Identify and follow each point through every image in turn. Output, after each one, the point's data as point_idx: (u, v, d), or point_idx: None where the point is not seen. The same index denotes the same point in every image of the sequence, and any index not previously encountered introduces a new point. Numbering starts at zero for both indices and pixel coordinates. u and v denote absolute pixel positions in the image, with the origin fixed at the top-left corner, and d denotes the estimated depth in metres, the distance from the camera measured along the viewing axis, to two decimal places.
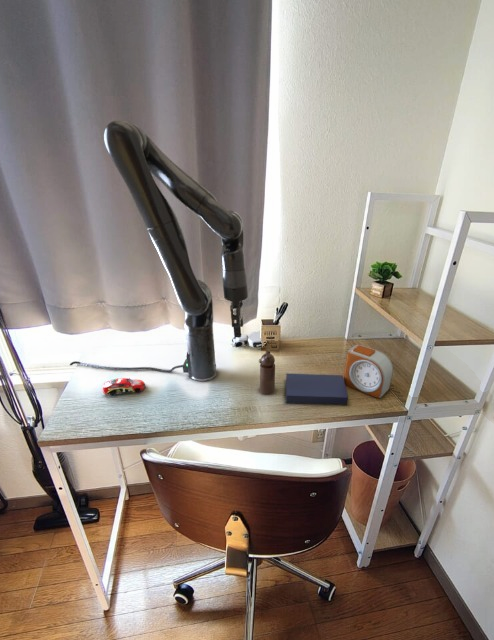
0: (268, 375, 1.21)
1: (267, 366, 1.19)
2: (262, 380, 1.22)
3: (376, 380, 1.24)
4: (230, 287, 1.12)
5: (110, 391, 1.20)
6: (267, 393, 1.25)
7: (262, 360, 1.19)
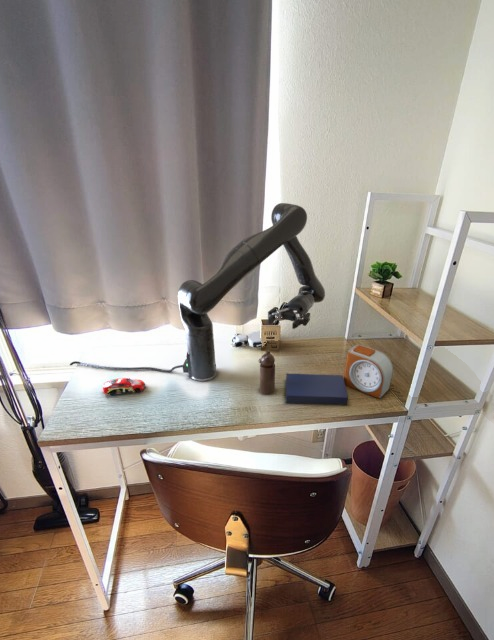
0: (268, 375, 1.21)
1: (267, 366, 1.19)
2: (262, 380, 1.22)
3: (376, 380, 1.24)
4: (307, 306, 1.35)
5: (110, 391, 1.20)
6: (267, 393, 1.25)
7: (262, 360, 1.19)
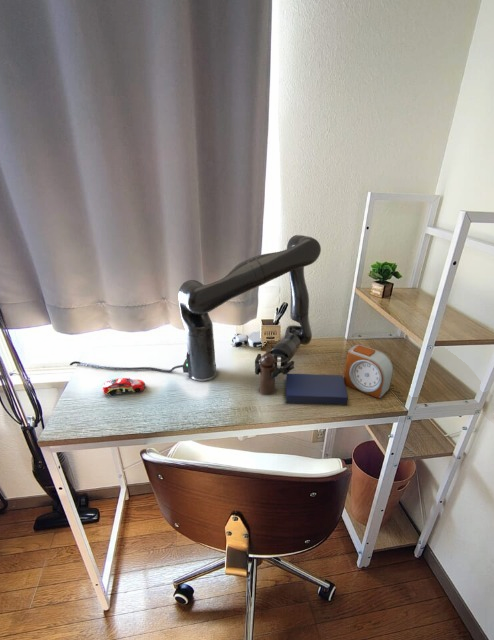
0: (268, 375, 1.21)
1: (267, 366, 1.19)
2: (262, 380, 1.22)
3: (376, 380, 1.24)
4: (292, 351, 1.32)
5: (110, 391, 1.20)
6: (267, 393, 1.25)
7: (262, 360, 1.19)
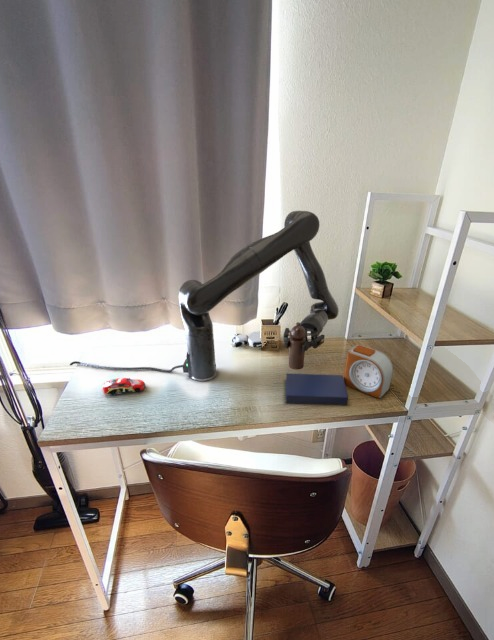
0: (299, 349, 1.15)
1: (298, 339, 1.14)
2: (292, 354, 1.17)
3: (376, 380, 1.24)
4: (321, 326, 1.26)
5: (110, 391, 1.20)
6: (296, 368, 1.19)
7: (293, 332, 1.13)
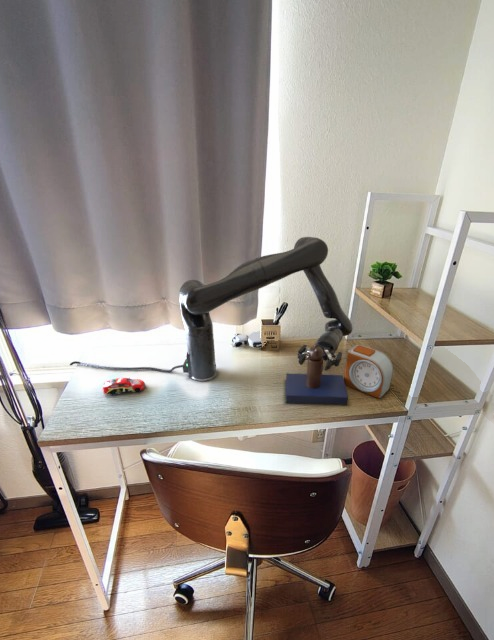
0: (317, 369, 1.19)
1: (316, 359, 1.18)
2: (310, 374, 1.21)
3: (376, 380, 1.24)
4: (337, 344, 1.30)
5: (110, 391, 1.20)
6: (314, 387, 1.23)
7: (311, 353, 1.17)
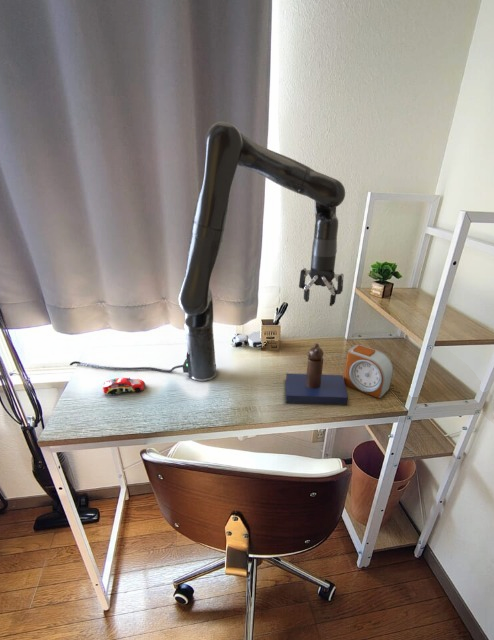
0: (317, 369, 1.19)
1: (316, 359, 1.18)
2: (310, 374, 1.21)
3: (376, 380, 1.24)
4: (334, 255, 1.14)
5: (110, 390, 1.21)
6: (314, 387, 1.23)
7: (311, 353, 1.17)
